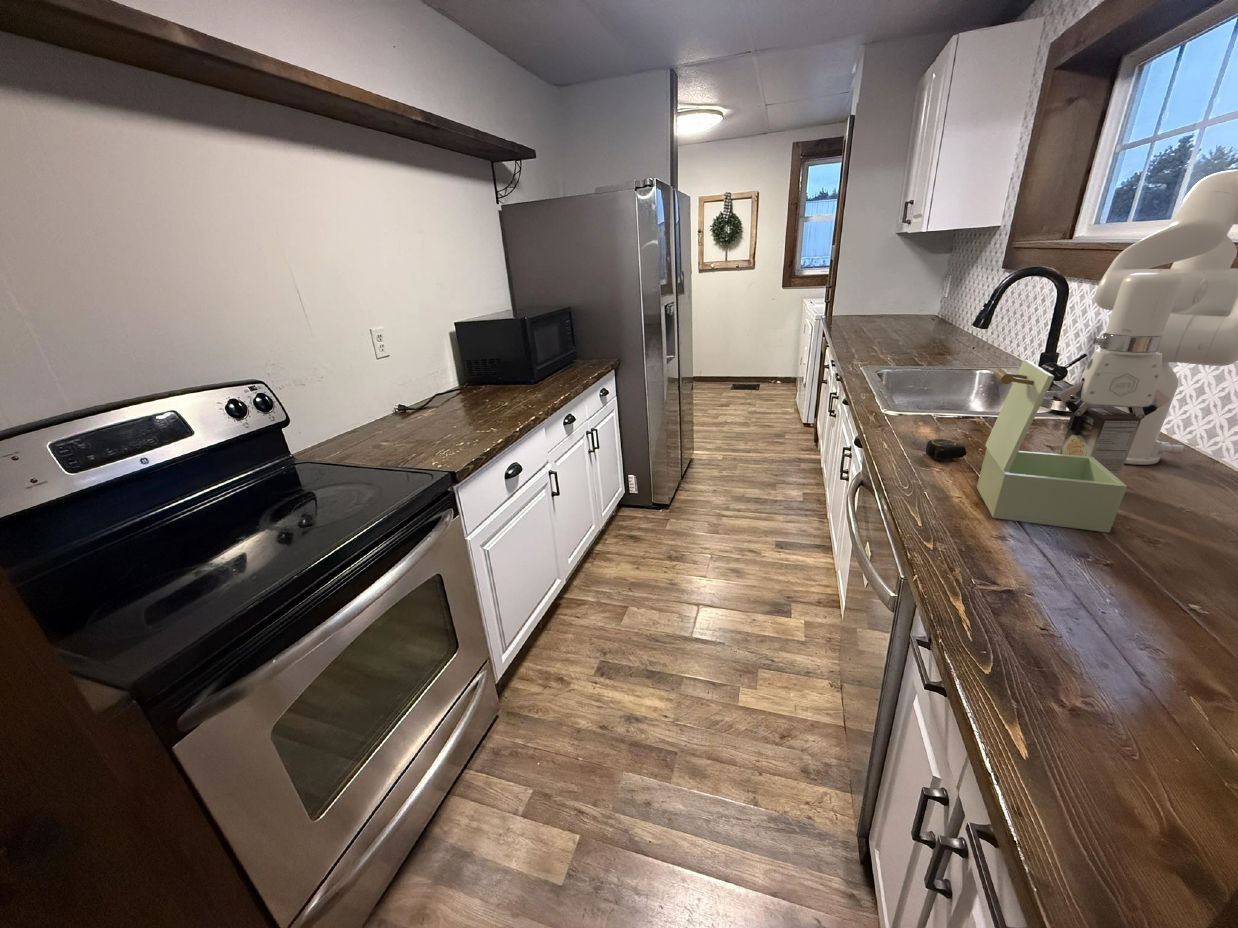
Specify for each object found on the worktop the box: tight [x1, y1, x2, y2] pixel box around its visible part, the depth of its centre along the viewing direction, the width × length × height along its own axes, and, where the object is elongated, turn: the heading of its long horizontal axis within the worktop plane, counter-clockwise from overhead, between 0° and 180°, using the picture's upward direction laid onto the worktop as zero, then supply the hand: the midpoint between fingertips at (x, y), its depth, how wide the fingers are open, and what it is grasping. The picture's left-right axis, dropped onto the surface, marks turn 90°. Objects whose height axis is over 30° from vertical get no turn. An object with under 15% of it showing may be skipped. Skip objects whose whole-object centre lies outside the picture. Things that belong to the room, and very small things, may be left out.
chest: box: [976, 448, 1128, 534], centre depth 93 cm, size 17×14×9 cm
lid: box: [984, 359, 1055, 472], centre depth 91 cm, size 18×14×6 cm
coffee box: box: [1059, 405, 1142, 480], centre depth 99 cm, size 9×6×16 cm
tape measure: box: [925, 438, 968, 461], centre depth 118 cm, size 7×7×4 cm
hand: (1098, 434), depth 98 cm, fingers closed on coffee box, 7 cm apart
